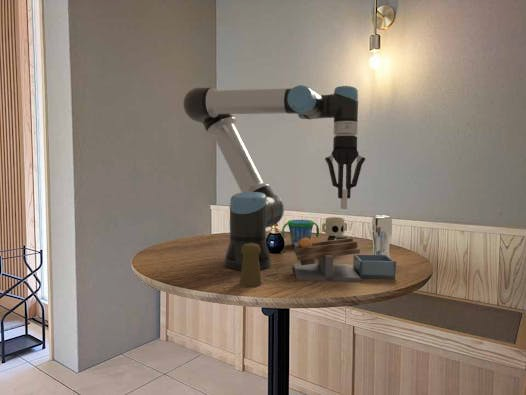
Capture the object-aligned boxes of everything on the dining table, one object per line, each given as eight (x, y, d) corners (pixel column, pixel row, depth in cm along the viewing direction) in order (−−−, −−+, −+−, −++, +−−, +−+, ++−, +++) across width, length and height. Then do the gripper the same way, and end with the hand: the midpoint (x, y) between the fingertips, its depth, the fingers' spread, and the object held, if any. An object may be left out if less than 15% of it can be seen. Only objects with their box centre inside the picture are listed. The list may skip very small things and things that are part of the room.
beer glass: (392, 261, 137) (393, 218, 136) (371, 260, 139) (372, 217, 137) (389, 256, 144) (391, 216, 143) (370, 255, 145) (371, 215, 144)
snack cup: (283, 248, 158) (284, 222, 157) (279, 243, 168) (280, 219, 167) (322, 247, 159) (322, 222, 158) (315, 243, 170) (316, 219, 169)
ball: (300, 253, 117) (298, 240, 117) (299, 250, 121) (297, 238, 121) (313, 250, 117) (311, 237, 117) (312, 248, 121) (310, 235, 121)
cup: (359, 278, 115) (360, 261, 115) (353, 270, 124) (353, 254, 124) (395, 278, 115) (395, 261, 114) (385, 270, 124) (386, 254, 124)
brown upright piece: (261, 280, 111) (261, 241, 110) (261, 286, 105) (262, 246, 104) (239, 280, 111) (240, 241, 110) (239, 286, 105) (239, 245, 104)
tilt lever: (298, 267, 114) (296, 248, 113) (294, 252, 133) (292, 236, 133) (360, 259, 113) (358, 240, 113) (347, 246, 133) (345, 230, 133)
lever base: (297, 280, 112) (297, 255, 111) (293, 266, 128) (294, 245, 127) (360, 281, 112) (361, 256, 111) (349, 267, 127) (350, 245, 127)
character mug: (326, 254, 146) (327, 219, 145) (317, 251, 153) (317, 217, 152) (351, 252, 150) (352, 218, 149) (341, 249, 157) (342, 216, 156)
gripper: (326, 134, 124) (325, 209, 125) (368, 134, 124) (366, 209, 125) (323, 136, 131) (322, 207, 133) (362, 136, 131) (361, 207, 133)
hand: (343, 208), depth 129 cm, fingers closed
